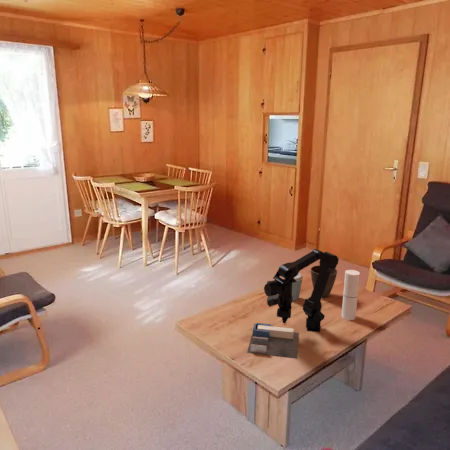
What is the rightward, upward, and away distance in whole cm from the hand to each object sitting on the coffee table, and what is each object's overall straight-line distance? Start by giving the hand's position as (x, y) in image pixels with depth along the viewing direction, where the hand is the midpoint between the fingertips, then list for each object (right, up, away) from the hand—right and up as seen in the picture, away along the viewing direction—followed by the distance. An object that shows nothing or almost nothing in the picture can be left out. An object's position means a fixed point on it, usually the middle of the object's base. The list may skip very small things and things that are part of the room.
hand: (284, 322), depth 194 cm
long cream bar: (-4, -7, +3) cm, 8 cm away
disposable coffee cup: (+11, +3, +43) cm, 44 cm away
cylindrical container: (+37, -3, +22) cm, 43 cm away
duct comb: (-5, -9, -3) cm, 11 cm away
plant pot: (+29, +4, +47) cm, 56 cm away
